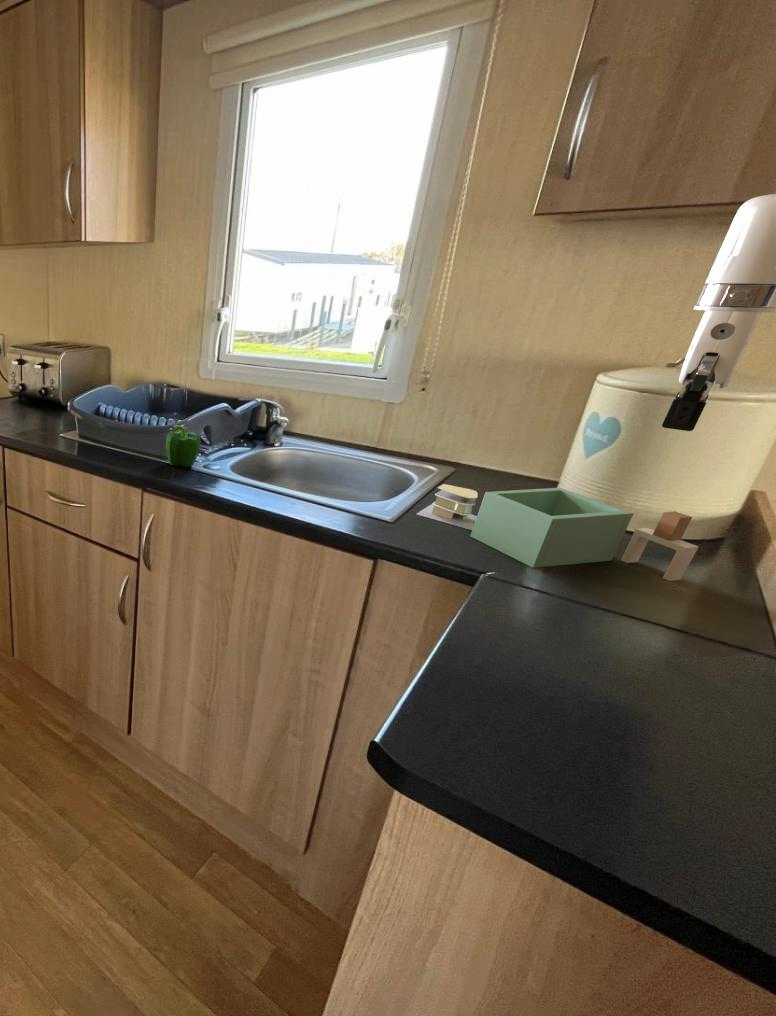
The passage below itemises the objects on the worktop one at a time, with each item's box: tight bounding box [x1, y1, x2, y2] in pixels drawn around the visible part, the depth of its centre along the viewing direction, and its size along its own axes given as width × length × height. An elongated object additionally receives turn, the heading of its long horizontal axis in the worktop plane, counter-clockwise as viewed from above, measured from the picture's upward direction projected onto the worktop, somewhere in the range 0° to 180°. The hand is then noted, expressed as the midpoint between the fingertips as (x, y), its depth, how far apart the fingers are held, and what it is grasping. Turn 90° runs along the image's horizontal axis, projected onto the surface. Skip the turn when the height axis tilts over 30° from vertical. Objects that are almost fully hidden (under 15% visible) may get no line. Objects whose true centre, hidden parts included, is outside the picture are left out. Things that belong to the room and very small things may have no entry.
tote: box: [470, 487, 634, 569], centre depth 96 cm, size 16×12×9 cm
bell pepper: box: [165, 425, 201, 468], centre depth 136 cm, size 8×8×10 cm
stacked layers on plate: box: [416, 483, 479, 531], centre depth 109 cm, size 10×9×6 cm
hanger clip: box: [620, 510, 699, 582], centre depth 89 cm, size 2×7×10 cm, turn 11°
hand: (678, 424), depth 81 cm, fingers open, 9 cm apart
